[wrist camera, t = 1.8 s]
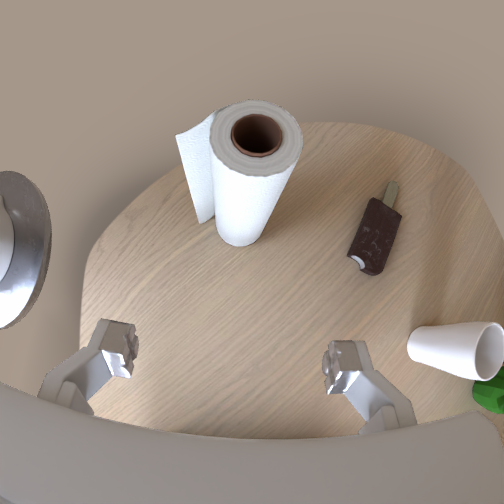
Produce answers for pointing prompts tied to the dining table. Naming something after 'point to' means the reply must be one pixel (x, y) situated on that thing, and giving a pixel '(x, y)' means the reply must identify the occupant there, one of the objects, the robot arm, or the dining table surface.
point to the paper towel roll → (240, 166)
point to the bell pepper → (491, 392)
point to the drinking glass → (460, 348)
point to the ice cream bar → (376, 233)
